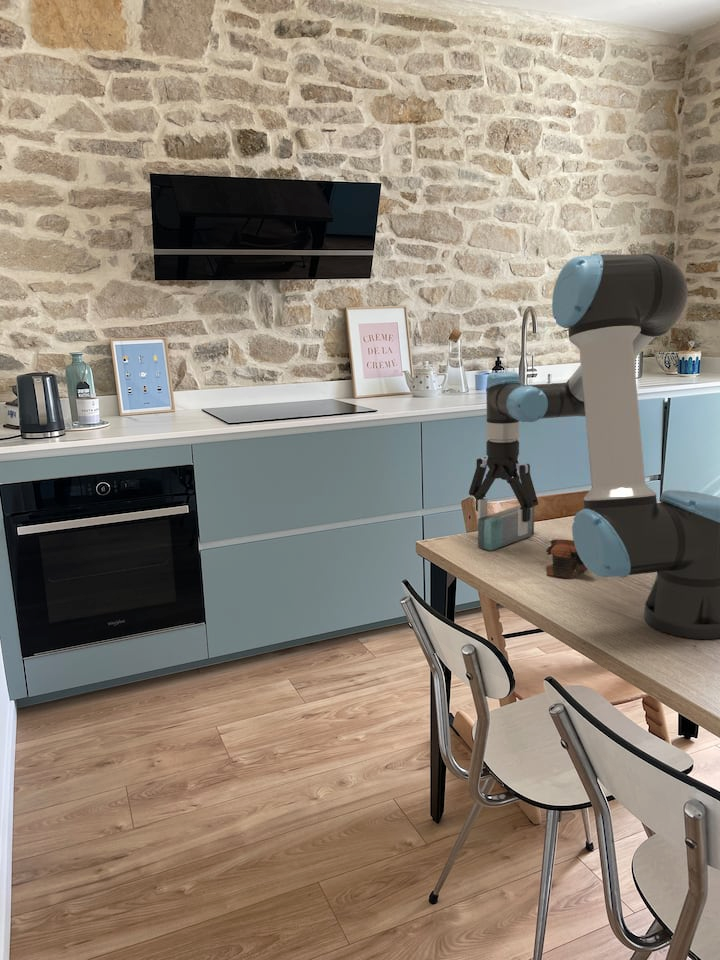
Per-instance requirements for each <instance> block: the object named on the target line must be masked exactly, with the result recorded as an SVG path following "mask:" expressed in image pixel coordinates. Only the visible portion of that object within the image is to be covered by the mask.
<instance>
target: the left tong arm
mask: <svg viewBox="0 0 720 960" xmlns="http://www.w3.org/2000/svg"><path fill="white" fill-rule="evenodd" d="M520 507H521V505H517V506H514V507H511V508H507V509H504V510H501V511H499V512H495V513H492V514H487V516H485V517H482V518H479V519H478V518H477V548H480V549H483V550H485V549H484V520H487V519H490V518H493V517H496V516H500V515H503V514H506V513H509V512H512V511H515V510H518V508H520Z"/></svg>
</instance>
